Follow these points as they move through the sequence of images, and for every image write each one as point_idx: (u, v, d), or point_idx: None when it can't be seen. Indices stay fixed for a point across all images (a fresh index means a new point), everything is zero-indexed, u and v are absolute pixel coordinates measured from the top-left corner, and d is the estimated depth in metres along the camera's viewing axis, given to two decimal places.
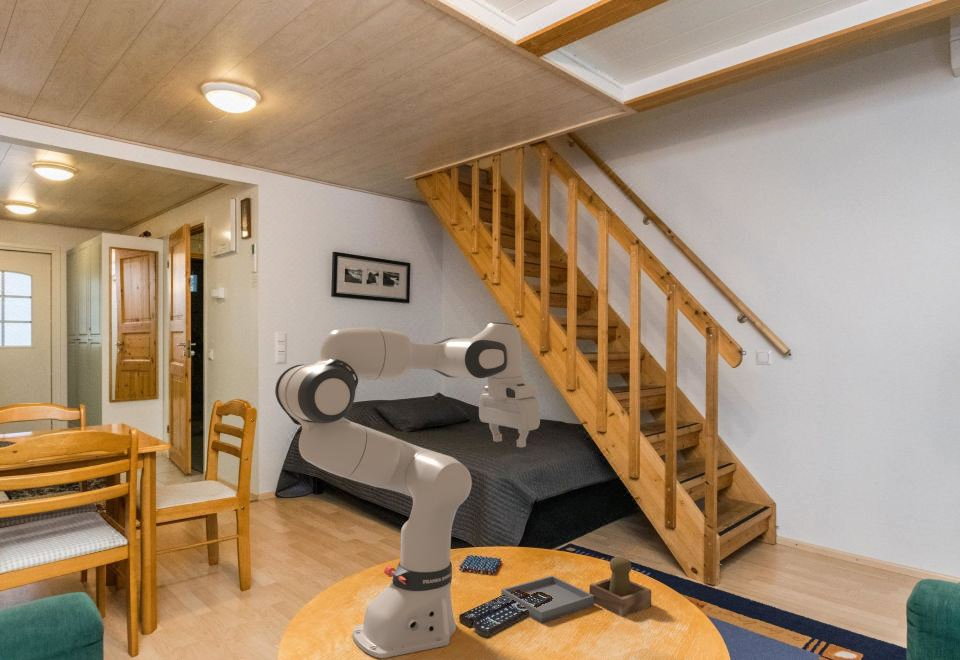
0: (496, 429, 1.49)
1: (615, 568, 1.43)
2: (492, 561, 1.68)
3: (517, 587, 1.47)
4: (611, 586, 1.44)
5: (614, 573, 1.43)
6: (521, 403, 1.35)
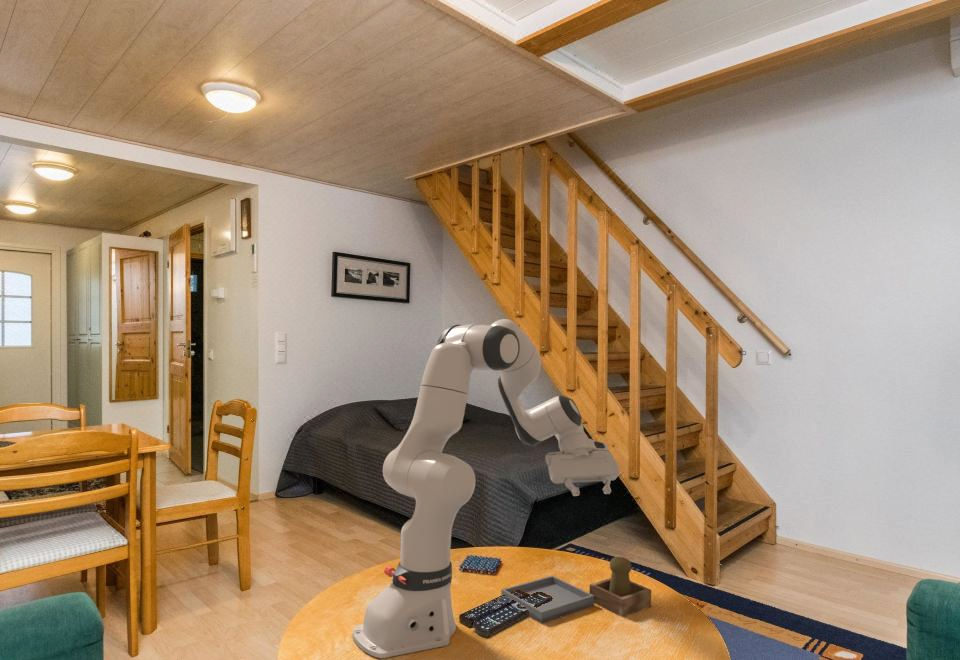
0: None
1: (615, 568, 1.43)
2: (492, 561, 1.68)
3: (517, 587, 1.47)
4: (611, 586, 1.44)
5: (614, 573, 1.43)
6: None
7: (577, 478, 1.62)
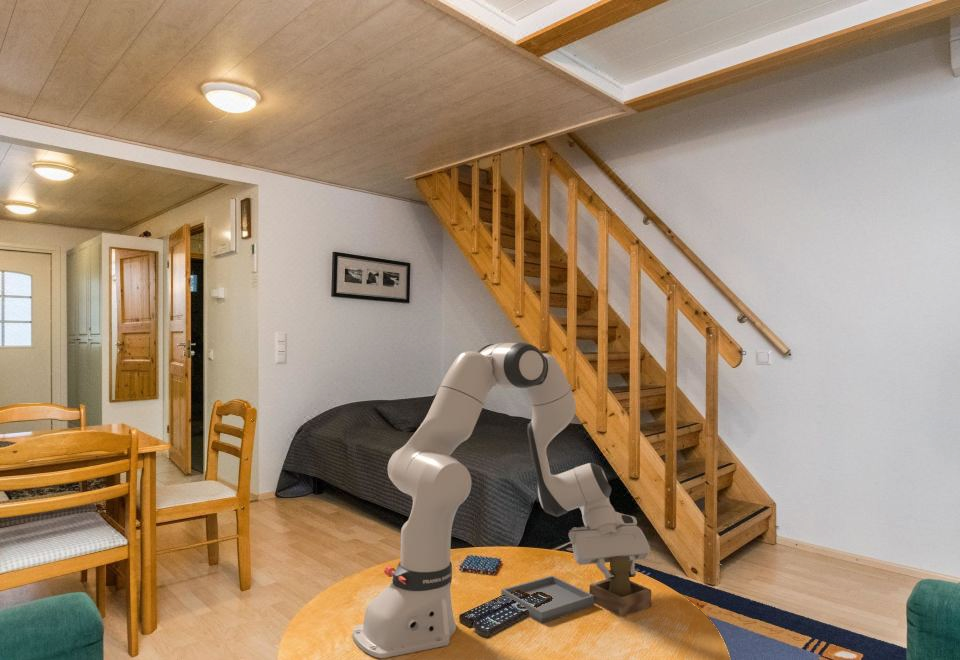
0: None
1: (615, 568, 1.43)
2: (492, 561, 1.68)
3: (517, 587, 1.47)
4: (611, 586, 1.44)
5: (614, 573, 1.43)
6: None
7: (604, 558, 1.47)
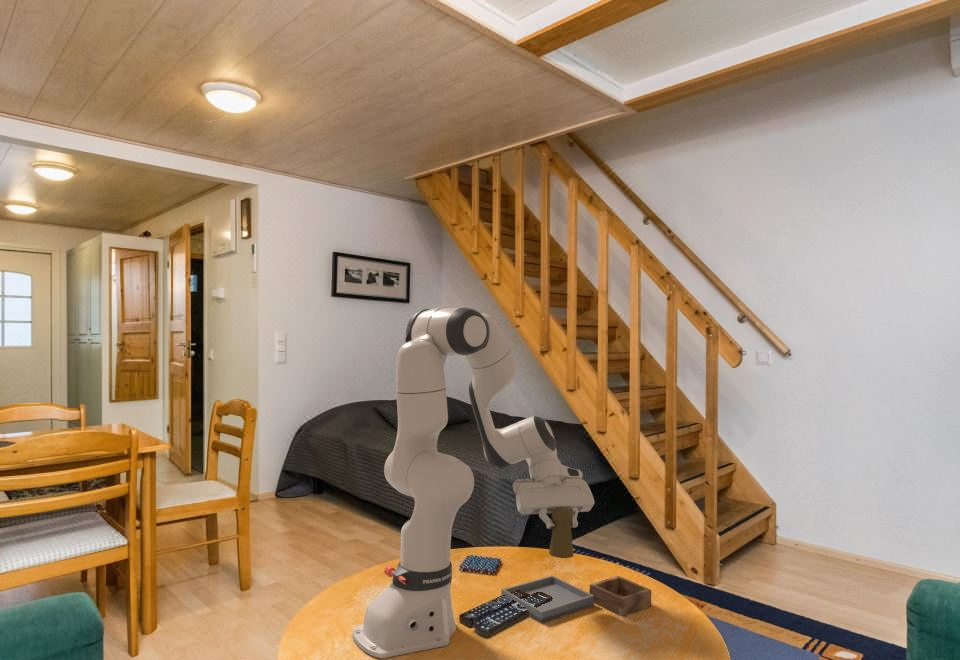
0: None
1: (556, 518, 1.43)
2: (492, 561, 1.68)
3: (517, 587, 1.47)
4: (552, 536, 1.44)
5: (555, 523, 1.43)
6: None
7: (547, 509, 1.47)
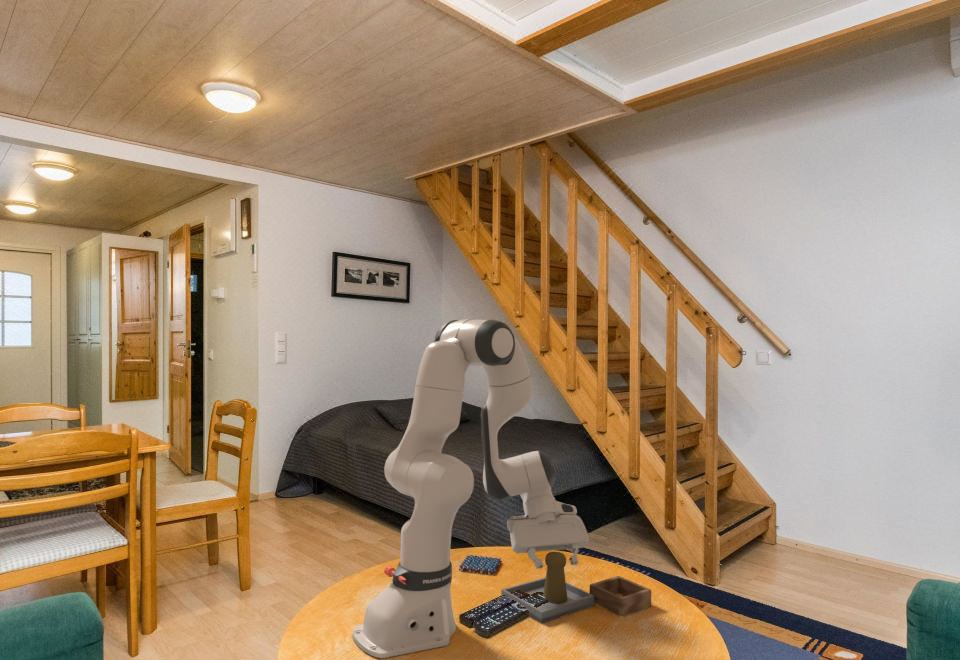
0: None
1: (549, 563, 1.43)
2: (492, 561, 1.68)
3: (517, 587, 1.47)
4: (546, 581, 1.44)
5: (549, 568, 1.43)
6: (578, 516, 1.53)
7: (541, 547, 1.47)
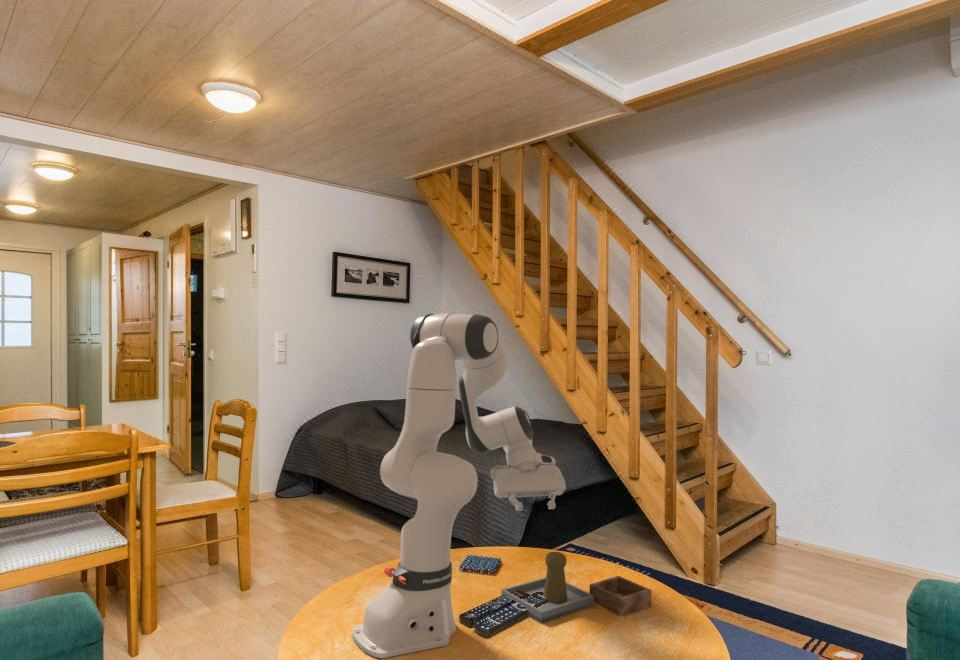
0: None
1: (549, 563, 1.42)
2: (492, 561, 1.68)
3: (517, 587, 1.47)
4: (546, 581, 1.44)
5: (549, 568, 1.43)
6: (557, 467, 1.65)
7: (522, 493, 1.60)
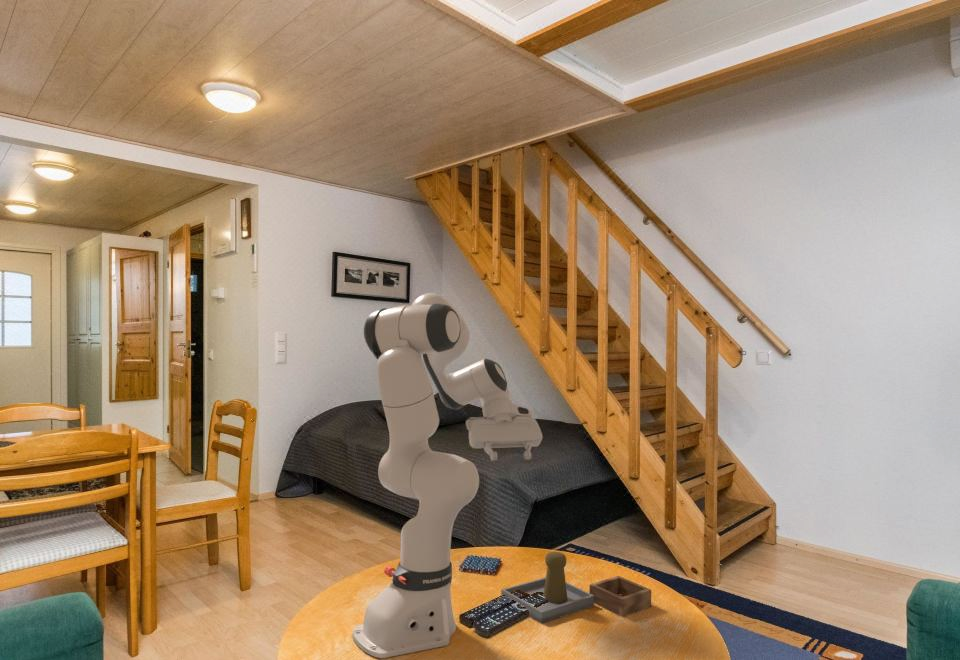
0: None
1: (549, 563, 1.43)
2: (492, 561, 1.68)
3: (517, 587, 1.47)
4: (546, 581, 1.44)
5: (549, 567, 1.43)
6: (533, 418, 1.63)
7: (497, 443, 1.57)
